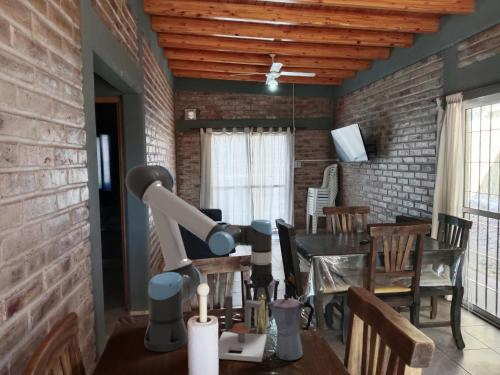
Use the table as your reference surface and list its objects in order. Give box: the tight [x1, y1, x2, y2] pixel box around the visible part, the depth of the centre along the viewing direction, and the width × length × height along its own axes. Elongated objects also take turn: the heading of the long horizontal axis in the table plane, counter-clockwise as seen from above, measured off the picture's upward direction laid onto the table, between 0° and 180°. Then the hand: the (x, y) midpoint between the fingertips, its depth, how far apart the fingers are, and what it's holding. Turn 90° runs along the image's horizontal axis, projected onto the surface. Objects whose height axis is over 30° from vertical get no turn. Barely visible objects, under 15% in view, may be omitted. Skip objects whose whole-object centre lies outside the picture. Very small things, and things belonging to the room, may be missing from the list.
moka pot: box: [267, 293, 315, 361], centre depth 117 cm, size 10×15×20 cm, turn 81°
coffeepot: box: [250, 281, 275, 322], centre depth 146 cm, size 15×9×18 cm, turn 129°
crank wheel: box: [224, 295, 263, 343], centre depth 123 cm, size 14×6×15 cm, turn 64°
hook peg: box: [256, 294, 268, 335], centre depth 131 cm, size 4×4×14 cm
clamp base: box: [218, 331, 267, 363], centre depth 122 cm, size 16×16×2 cm
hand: (261, 324), depth 131 cm, fingers closed on hook peg, 3 cm apart
